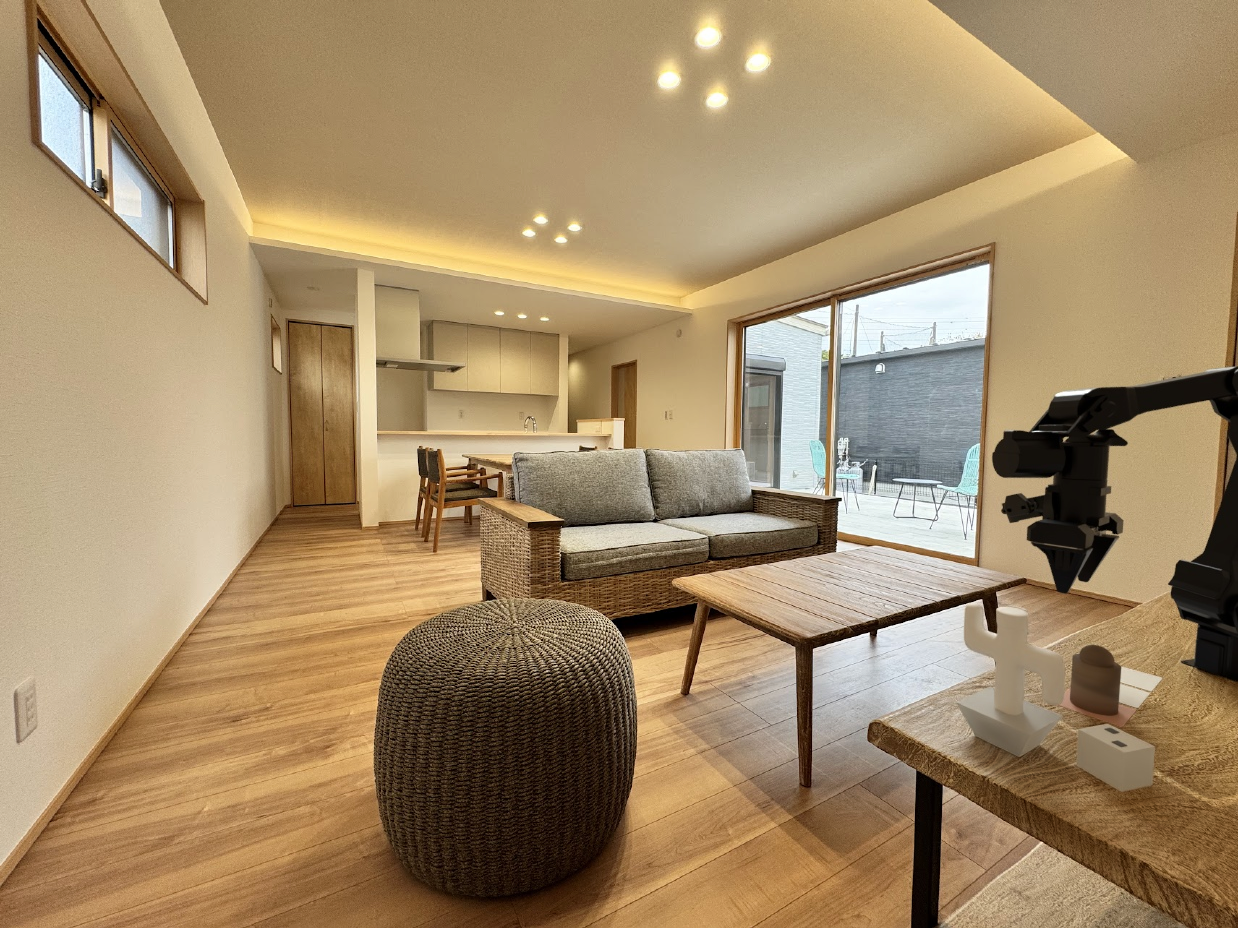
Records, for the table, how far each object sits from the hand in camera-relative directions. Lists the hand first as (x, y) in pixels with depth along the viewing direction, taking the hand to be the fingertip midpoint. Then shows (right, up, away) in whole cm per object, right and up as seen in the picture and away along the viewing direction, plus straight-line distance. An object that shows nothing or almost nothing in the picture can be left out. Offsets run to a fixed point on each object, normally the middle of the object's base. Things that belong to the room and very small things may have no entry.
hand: (1073, 586), depth 74 cm
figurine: (-22, -13, -16) cm, 30 cm away
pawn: (-6, -12, -10) cm, 17 cm away
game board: (-1, -13, -6) cm, 14 cm away
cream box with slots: (-15, -14, -22) cm, 30 cm away
